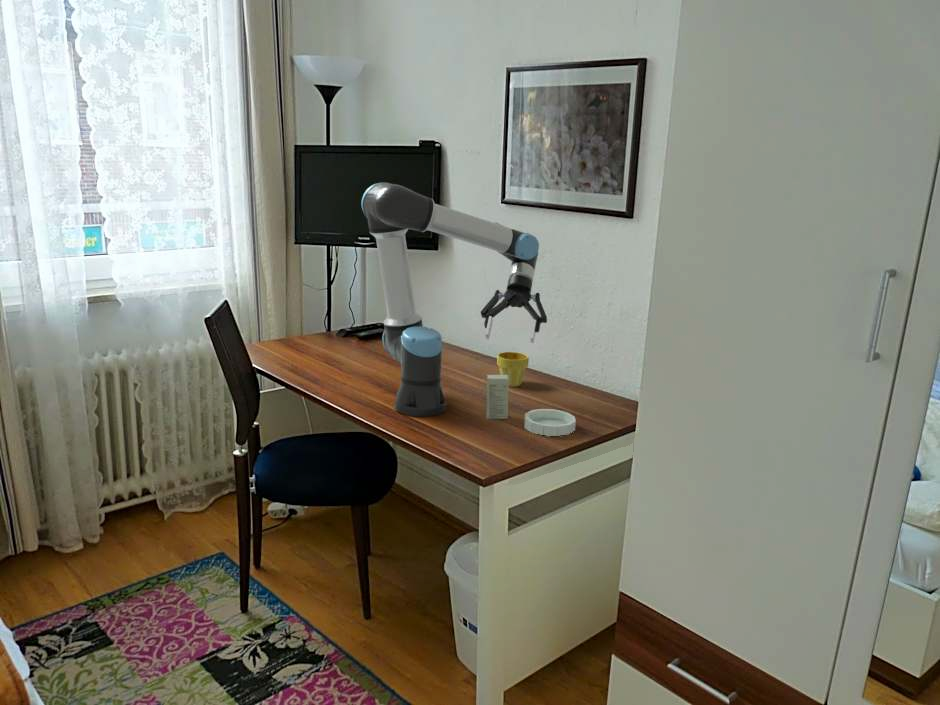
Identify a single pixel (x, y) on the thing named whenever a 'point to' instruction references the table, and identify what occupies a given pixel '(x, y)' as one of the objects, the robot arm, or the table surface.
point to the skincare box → (497, 397)
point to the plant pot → (513, 366)
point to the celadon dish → (549, 422)
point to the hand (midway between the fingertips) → (509, 338)
